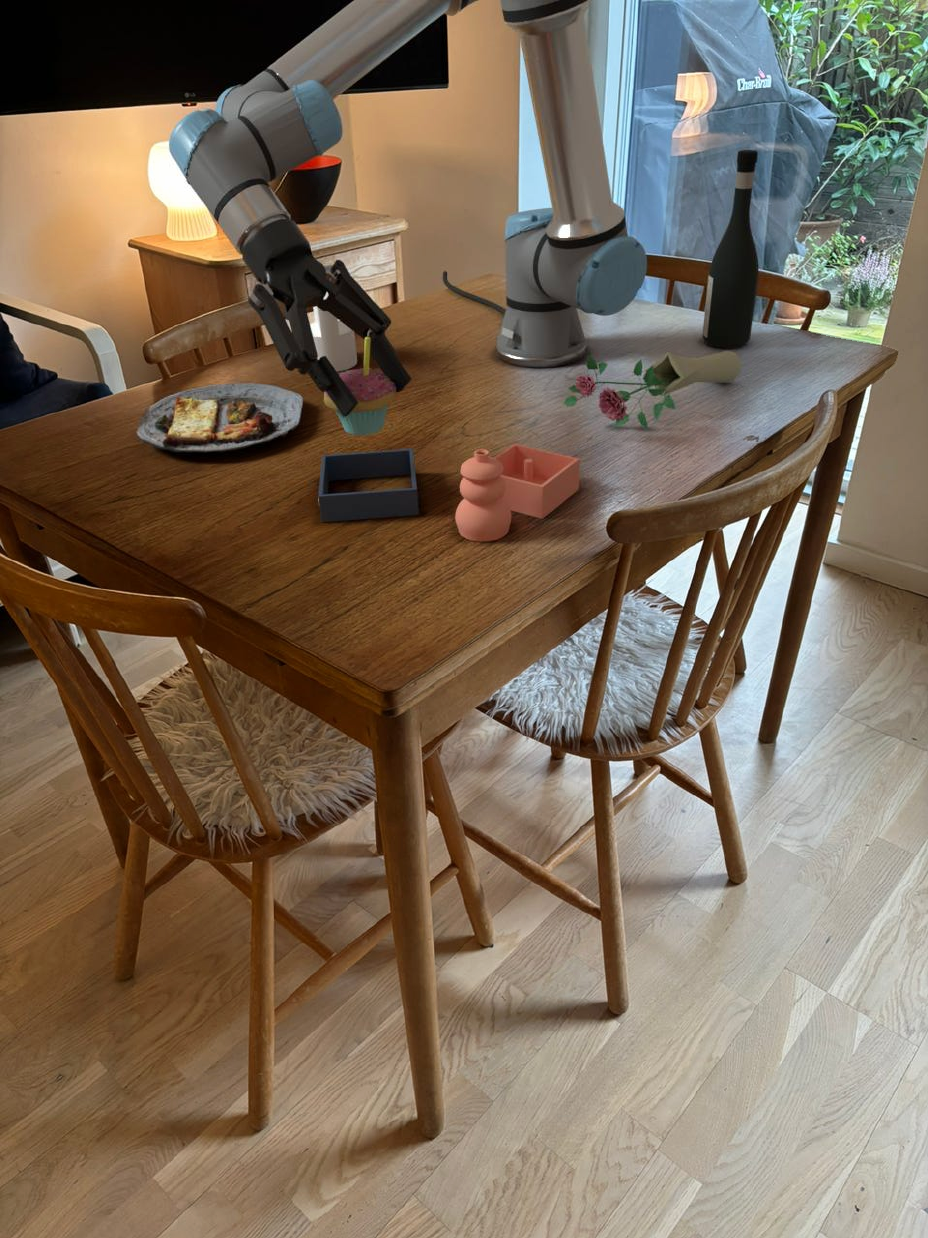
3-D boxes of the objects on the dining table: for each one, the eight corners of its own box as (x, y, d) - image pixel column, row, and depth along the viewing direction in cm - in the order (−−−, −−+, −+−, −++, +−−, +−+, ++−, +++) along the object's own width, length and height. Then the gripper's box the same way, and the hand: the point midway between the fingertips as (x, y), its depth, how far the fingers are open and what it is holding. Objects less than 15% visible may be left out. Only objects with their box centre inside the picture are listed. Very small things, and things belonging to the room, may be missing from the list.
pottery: (514, 473, 124) (513, 401, 119) (578, 489, 120) (581, 415, 114) (434, 531, 112) (429, 454, 106) (502, 551, 107) (500, 472, 102)
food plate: (296, 458, 131) (293, 434, 129) (126, 469, 130) (120, 445, 128) (308, 393, 151) (305, 371, 149) (161, 402, 151) (156, 380, 149)
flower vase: (730, 435, 150) (609, 464, 125) (670, 395, 155) (543, 415, 130) (768, 367, 143) (649, 383, 118) (705, 328, 148) (577, 335, 123)
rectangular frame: (324, 479, 125) (321, 454, 123) (414, 472, 125) (412, 448, 123) (321, 522, 115) (317, 496, 113) (419, 515, 115) (417, 489, 114)
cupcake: (408, 417, 118) (400, 320, 111) (382, 445, 111) (373, 343, 104) (344, 412, 120) (333, 316, 113) (316, 439, 113) (302, 339, 106)
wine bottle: (693, 344, 163) (712, 152, 147) (715, 332, 168) (736, 145, 152) (736, 353, 159) (760, 156, 142) (757, 340, 164) (784, 148, 147)
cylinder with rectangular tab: (361, 368, 160) (353, 296, 153) (307, 375, 158) (298, 302, 152) (353, 352, 167) (345, 282, 161) (302, 358, 166) (292, 287, 159)
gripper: (320, 240, 120) (423, 387, 120) (183, 279, 107) (299, 444, 107) (344, 198, 114) (452, 353, 115) (203, 235, 101) (325, 409, 102)
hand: (378, 397), depth 111 cm, fingers closed on cupcake, 8 cm apart
